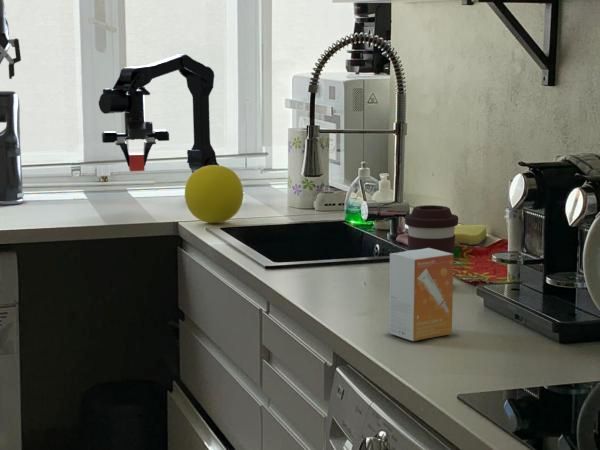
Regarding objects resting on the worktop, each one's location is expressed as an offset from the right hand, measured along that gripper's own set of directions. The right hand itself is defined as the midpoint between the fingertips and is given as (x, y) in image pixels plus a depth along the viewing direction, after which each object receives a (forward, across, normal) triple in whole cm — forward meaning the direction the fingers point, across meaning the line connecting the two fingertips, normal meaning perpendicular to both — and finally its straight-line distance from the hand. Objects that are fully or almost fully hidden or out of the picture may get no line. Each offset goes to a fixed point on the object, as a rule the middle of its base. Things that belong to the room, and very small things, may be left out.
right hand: (136, 166), depth 300 cm
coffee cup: (+12, +44, -120) cm, 128 cm away
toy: (+12, +17, -34) cm, 40 cm away
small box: (+12, +30, -151) cm, 154 cm away
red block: (+1, 0, 0) cm, 1 cm away
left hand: (-26, -37, -14) cm, 47 cm away
